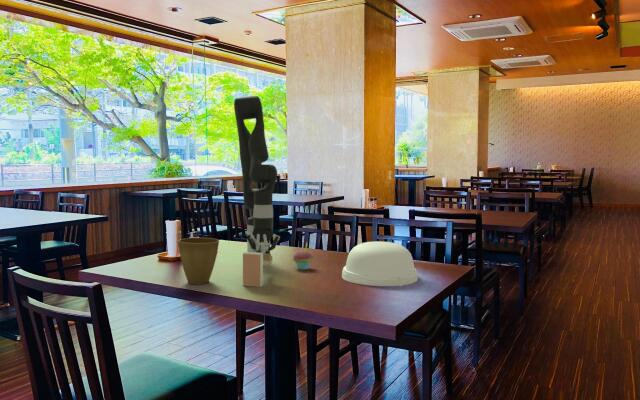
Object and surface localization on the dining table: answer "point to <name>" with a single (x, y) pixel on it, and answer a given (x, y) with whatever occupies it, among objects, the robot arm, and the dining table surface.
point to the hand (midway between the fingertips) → (263, 260)
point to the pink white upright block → (252, 269)
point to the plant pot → (198, 258)
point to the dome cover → (380, 265)
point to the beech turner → (267, 259)
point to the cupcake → (303, 259)
